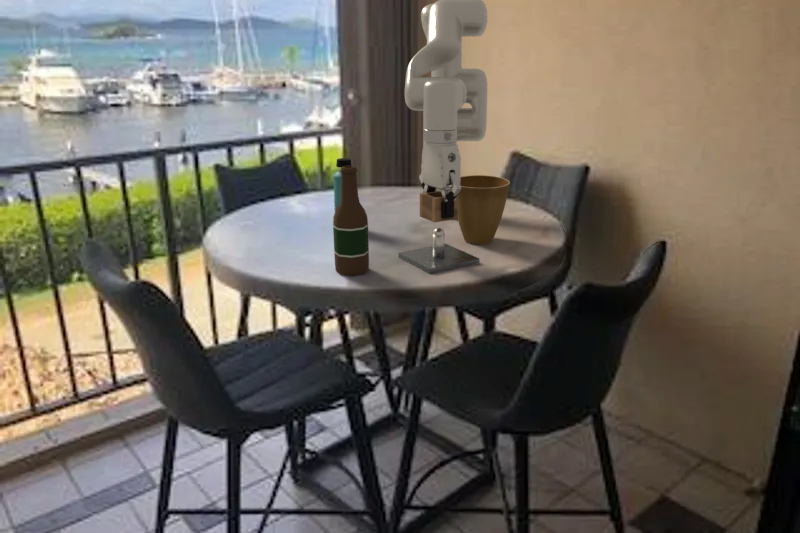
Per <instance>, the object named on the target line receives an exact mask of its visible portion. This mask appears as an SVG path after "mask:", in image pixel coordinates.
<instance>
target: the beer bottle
mask: <svg viewBox="0 0 800 533" xmlns="http://www.w3.org/2000/svg"><path fill="white" fill-rule="evenodd" d="M340 172H341V173H342V174H341V200H340V204H339V206H338V207H337V209H336V211H335V210H334V214H333V218H332V219H333V220H332V223H333V224H332V227H333V229H332V230H333V231H332V233H333V248H334V249H333V251H334V267H335V271H336V272H337V274H339V275H340V276H346V277H347V276H348V277H355V276H360V275H361V276H362V275H365V273H367V272H368V271H369V268H370V266H369V265H370V250H369V244H370V243H369V222H368V221H369V219H368V215H367V213H366V209H365V208H364V206H363V205H362V204H361V202H360V198H359V190H358V180H357V177H358V176H357V173H358V168H357V166H354V165H352V166H343V167H340Z"/></svg>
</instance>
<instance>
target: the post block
mask: <svg viewBox="0 0 800 533" xmlns="http://www.w3.org/2000/svg"><path fill="white" fill-rule="evenodd" d="M445 237H446V236H445V230H444V229H442V227H436V228H434V229H433V231H432V246H426V247H422V248H421V247H420V248H415V249H411V250H406V251H405V250H404V251H399V252H398V254H397V256H398V258H399V259H401V260H402V261H405V262H407V263H408V262H409V264H410V265H412V266H414V265H415V266H414V267H416V268H418V269H419V268H420V270H421V269H422V271H423V272H425V273H427V274H429V275H431V273H432V274H435V273H441V272H445V271H444V270H446V271H449V269H451V270H454V268H455V269H460V268H464V267H463V266H465V267H468V266H467V265H470V266H474V265H478V264H477V263H479V264H480V259H481V258H479V257H477V256H474V255H473V254H470V253H468V252H466V251H463V250H461V249H459V248H457V247H455V246H453V245H450V244H448V243H445ZM473 264H474V265H473ZM459 267H460V268H459ZM440 271H441V272H440Z"/></svg>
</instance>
